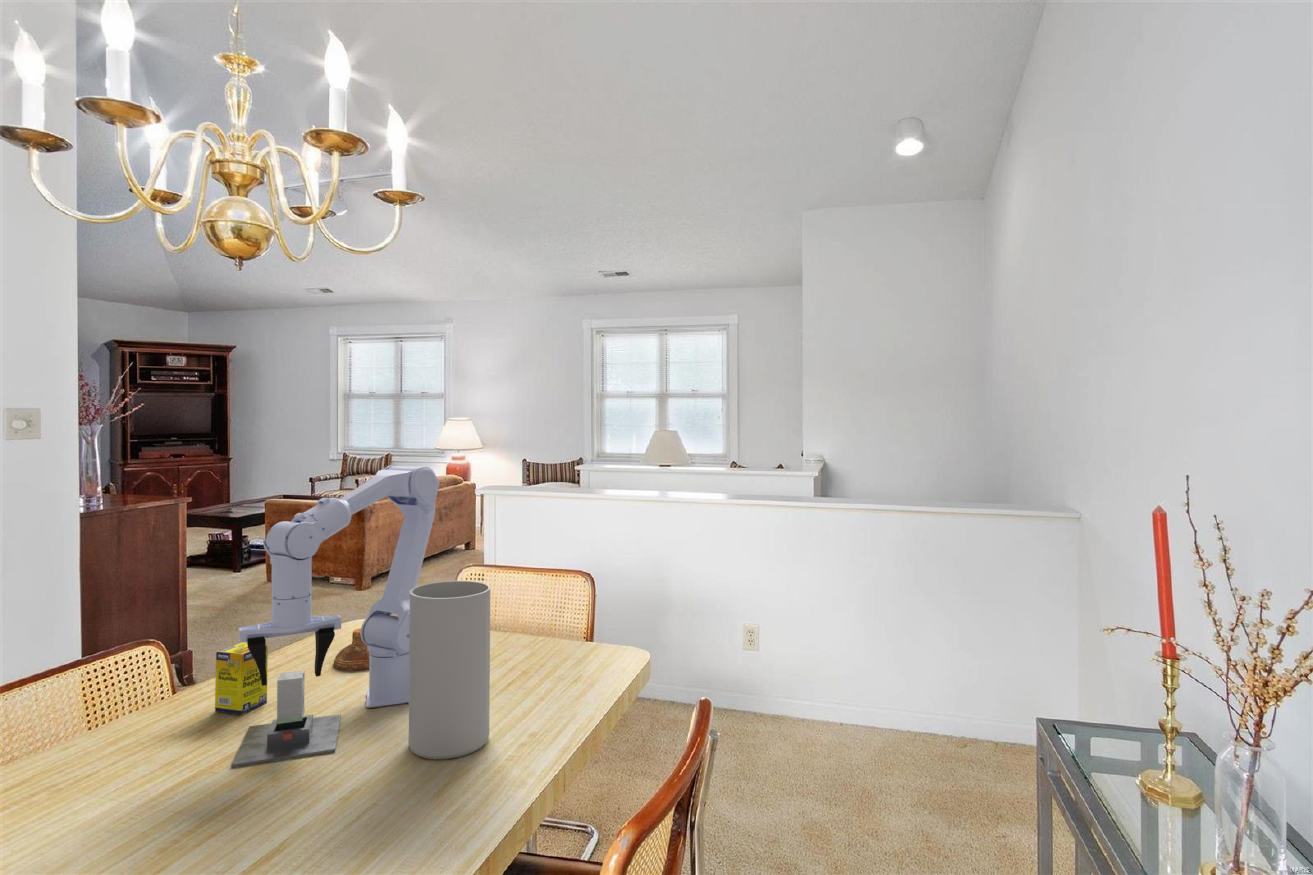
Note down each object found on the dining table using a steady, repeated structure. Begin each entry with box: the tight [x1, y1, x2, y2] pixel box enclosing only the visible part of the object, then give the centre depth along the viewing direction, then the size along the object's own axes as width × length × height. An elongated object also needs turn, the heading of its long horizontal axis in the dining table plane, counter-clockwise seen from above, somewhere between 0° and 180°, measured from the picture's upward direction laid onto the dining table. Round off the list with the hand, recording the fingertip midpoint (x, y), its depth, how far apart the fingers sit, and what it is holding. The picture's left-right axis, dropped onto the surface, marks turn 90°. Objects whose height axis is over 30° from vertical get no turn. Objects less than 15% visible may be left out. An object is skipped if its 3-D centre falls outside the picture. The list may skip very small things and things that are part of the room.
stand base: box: [231, 713, 342, 768], centre depth 109 cm, size 14×14×3 cm
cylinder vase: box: [408, 580, 491, 760], centre depth 109 cm, size 12×12×25 cm
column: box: [276, 670, 306, 724], centre depth 109 cm, size 4×4×7 cm
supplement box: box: [214, 642, 269, 716], centre depth 122 cm, size 6×6×11 cm
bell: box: [333, 627, 370, 672], centre depth 147 cm, size 12×12×7 cm
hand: (291, 678), depth 109 cm, fingers open, 7 cm apart
